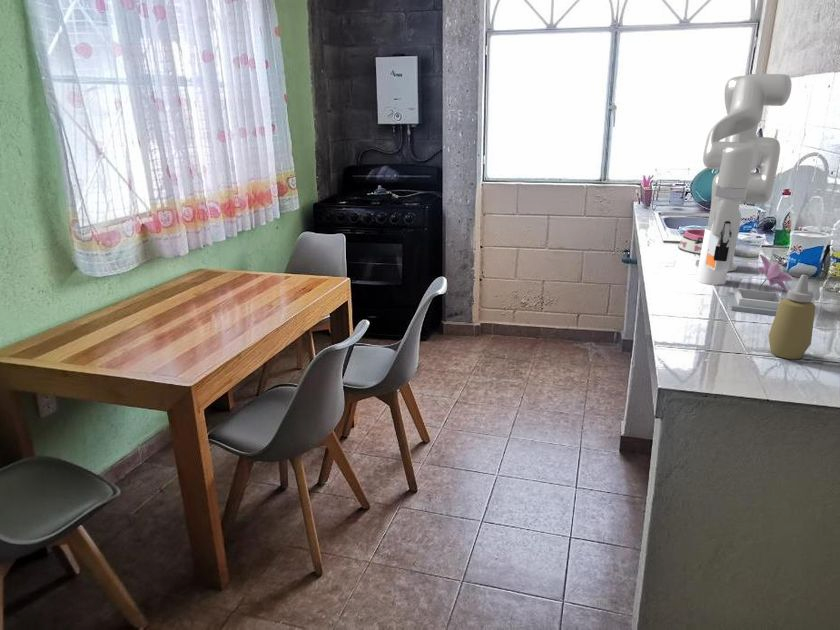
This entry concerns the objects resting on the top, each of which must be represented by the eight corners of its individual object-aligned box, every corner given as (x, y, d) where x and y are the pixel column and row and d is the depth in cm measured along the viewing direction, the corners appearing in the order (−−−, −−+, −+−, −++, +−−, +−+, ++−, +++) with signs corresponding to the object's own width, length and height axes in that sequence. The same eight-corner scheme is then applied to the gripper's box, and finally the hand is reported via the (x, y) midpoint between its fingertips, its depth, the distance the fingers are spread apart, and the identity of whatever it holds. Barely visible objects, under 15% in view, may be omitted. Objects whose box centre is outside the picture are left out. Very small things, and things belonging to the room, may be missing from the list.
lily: (791, 301, 173) (807, 271, 173) (753, 282, 174) (769, 252, 174) (771, 301, 185) (786, 273, 185) (735, 283, 186) (751, 255, 186)
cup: (719, 278, 191) (729, 228, 186) (729, 285, 183) (739, 233, 178) (692, 277, 192) (701, 226, 186) (701, 284, 184) (710, 232, 179)
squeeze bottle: (756, 347, 136) (774, 270, 130) (790, 347, 137) (809, 270, 131) (779, 362, 128) (799, 280, 122) (815, 362, 129) (837, 280, 123)
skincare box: (703, 265, 174) (711, 223, 169) (718, 264, 174) (726, 223, 169) (714, 271, 168) (722, 229, 164) (729, 271, 168) (738, 228, 164)
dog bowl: (733, 249, 232) (737, 231, 229) (728, 259, 217) (732, 240, 214) (682, 243, 240) (685, 226, 238) (674, 252, 225) (677, 233, 223)
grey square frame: (725, 295, 173) (727, 285, 172) (781, 302, 169) (783, 291, 168) (731, 310, 161) (733, 299, 160) (790, 317, 156) (793, 306, 155)
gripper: (713, 187, 172) (702, 248, 178) (718, 197, 157) (705, 263, 163) (742, 189, 170) (730, 250, 176) (750, 199, 154) (736, 266, 161)
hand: (718, 256), depth 170 cm, fingers closed on skincare box, 7 cm apart
